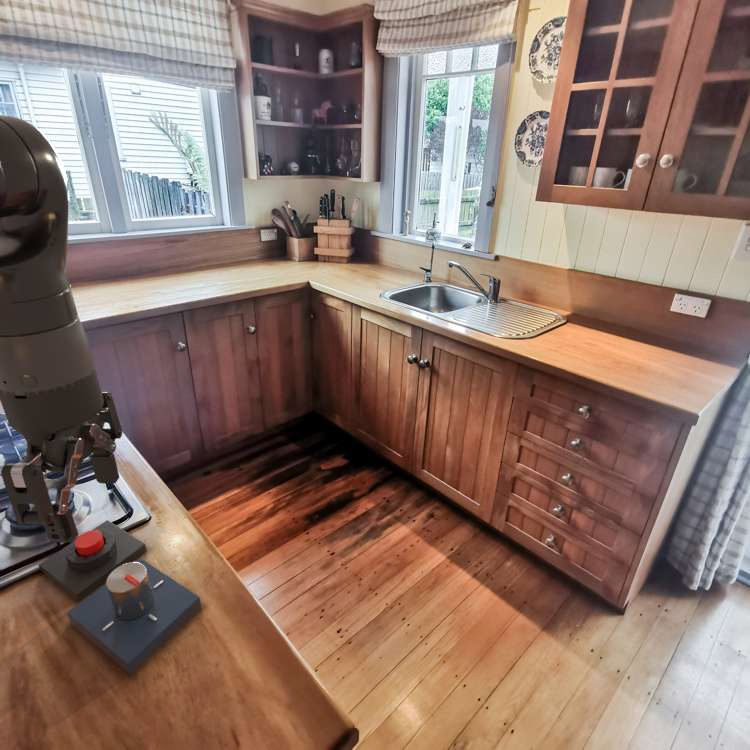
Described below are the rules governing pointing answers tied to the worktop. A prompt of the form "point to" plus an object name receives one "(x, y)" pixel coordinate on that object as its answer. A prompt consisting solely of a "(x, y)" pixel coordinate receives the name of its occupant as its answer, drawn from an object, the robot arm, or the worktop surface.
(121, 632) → the panel
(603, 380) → the worktop surface
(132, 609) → the knob
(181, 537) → the worktop surface
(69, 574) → the housing
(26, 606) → the worktop surface
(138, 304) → the worktop surface
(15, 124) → the robot arm
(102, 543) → the button
